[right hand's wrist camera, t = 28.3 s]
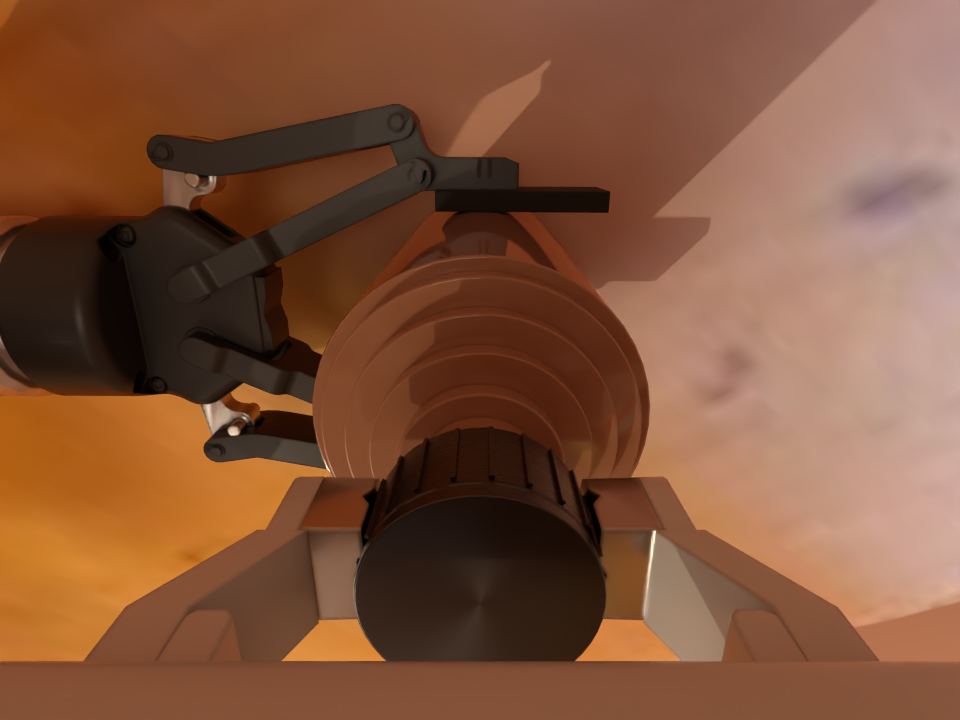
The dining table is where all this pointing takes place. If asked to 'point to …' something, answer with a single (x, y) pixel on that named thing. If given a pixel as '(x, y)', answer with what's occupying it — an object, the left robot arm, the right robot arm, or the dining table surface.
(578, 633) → the cap
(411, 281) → the bottle
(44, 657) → the dining table surface
